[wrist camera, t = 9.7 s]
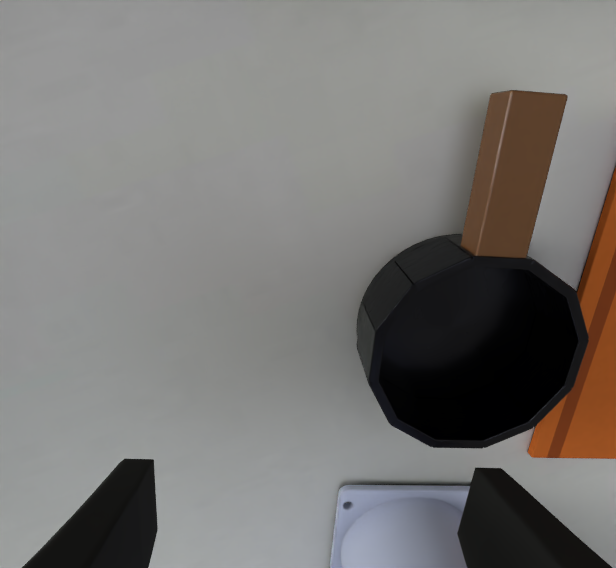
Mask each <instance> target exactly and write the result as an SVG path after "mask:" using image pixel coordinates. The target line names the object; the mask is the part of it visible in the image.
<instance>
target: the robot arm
mask: <svg viewBox="0 0 616 568" xmlns="http://www.w3.org/2000/svg"><path fill="white" fill-rule="evenodd" d="M345 502H349V503H345ZM156 534H157V512H156V494H155V476H154V460H152V459H124V460H123V461H121V462H120V463H119V464H118V465H117V467H116V468H115V469H114V470H113V471H112V472H111V473H110V475H109V476H108V477H107V478H106V479H105V480H104V481H103V482H102V484H101V485H100V486H99V487H98V488H97V489H96V490H95V492H94V493H93V494H92V495H91V496H90V497H89V498H88V499H87V500H86V501H85V503H84V504H83V505H82V506H81V507H80V508H79V509H78V510H77V511H76V512H75V514H74V515H73V516H72V517H71V518H70V519H69V520H68V521H67V522H66V523H65V524H64V525H63V526H62V527H61V528H60V529H59V530H58V531H57V533H56V534H55V535H54V536H53V537H52V538H51V539H50V540H49V541H48V542H47V543H46V544H45V545H44V546H43V547H42V548H41V549H40V550H39V551H38V552H37V553H36V554H35V555H34V556H33V557H32V558H31V559H30V560H29V561H28V562H27V563H26V564H25V565H24V566H23V567H22V568H148V567H149V563H150V559H151V555H152V550H153V546H154V542H155V538H156ZM330 568H612V567H611V566H610V565H609V564H607V563H606V562H605V561H604V560H603V559H602V558H601V557H599V556H598V555H597V554H596V553H595V552H594V551H593V550H591V549H590V548H589V547H588V546H587V545H586V544H585V543H583V542H582V541H581V540H580V539H579V538H578V537H577V536H576V535H574V534H573V533H572V532H571V531H570V530H569V529H568V528H567V527H566V526H564V525H563V524H562V523H561V522H560V521H559V520H558V519H557V518H556V517H555V516H553V515H552V514H551V513H550V512H549V511H548V510H547V509H546V508H545V507H544V506H543V505H541V504H540V503H539V502H538V501H537V500H536V499H535V498H534V497H533V496H532V495H530V494H529V493H528V492H527V491H526V490H525V489H524V488H523V487H522V486H521V485H519V484H518V483H517V482H516V481H515V480H514V479H513V478H512V477H510V476H509V475H508V474H507V473H506V472H505V471H504V470H502V469H501V468H475V471H474V474H473V478H472V482H471V485H470V486H429V485H345V486H343V487H342V488H341V489H340V490H339V492H338V501H337V509H336V517H335V526H334V534H333V543H332V551H331V559H330Z"/></svg>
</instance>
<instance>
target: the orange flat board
mask: <svg viewBox="0 0 616 568" xmlns="http://www.w3.org/2000/svg"><path fill="white" fill-rule="evenodd" d="M577 296H578V299H579V303H580V307H581V310H582V314H583V318H584V321H585V325H586V329H587V332H588V336H589V339H588V340H589V342H588V345H587V348H586V351H585V354H584V357H583V360H582V363H581V366H580V369H579V372H578V375H577V378H576V381H575V384H574V387H573V388H572V390H571V391H570V392H569V393H568V394H567V395H566V396H565V397H564V398H563V399H562V400H561V401H560V402H559V403H558V404H557V405H556V406H555V407H554V408H553V409H552V410H551V411H550V412H549V413H548V414H547V415H546V416H545V417H544V418H543V419H542V420H541V421H540V422H539V423H538V424H537V425H536V428H535V431H534V434H533V437H532V440H531V444H530V447H529V450H528V453H529V454H530V456H531V457H535V458H608V459H616V168H615V171H614V175H613V178H612V181H611V184H610V188H609V191H608V194H607V197H606V201H605V204H604V207H603V210H602V214H601V217H600V220H599V223H598V227H597V230H596V233H595V236H594V240H593V243H592V246H591V249H590V252H589V256H588V259H587V262H586V265H585V269H584V272H583V275H582V278H581V282H580V285H579V288H578V291H577Z"/></svg>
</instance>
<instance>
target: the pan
mask: <svg viewBox="0 0 616 568" xmlns="http://www.w3.org/2000/svg"><path fill="white" fill-rule="evenodd" d="M566 101H567V95H566V94H555V93H543V92H531V91H518V90H510V91H503V92H496V93H492V94H491V95H490V100H489V105H488V110H487V115H486V120H485V125H484V130H483V135H482V140H481V145H480V150H479V155H478V160H477V165H476V170H475V175H474V180H473V185H472V190H471V195H470V200H469V206H468V211H467V216H466V221H465V226H464V231H463V234H452V235H445V236H439V237H435V238H431V239H427V240H425V241H422V242H420V243H417V244H415V245H413V246H411V247H409V248H408V249H406V250H404V251H402V252H401V253H400V254H398V255H397V256H395V257H394V258H393V259H392V260H390V261H389V262H388V263H387V264H386V265H385V266H384V267H383V268H382V269H381V270H380V271H379V273H378V274H377V275H376V276H375V277H374V279H373V280H372V282H371V284H370V285H369V287H368V288H367V290H366V293H365V295H364V297H363V299H362V302H361V305H360V308H359V313H358V318H357V350H358V353H359V356H360V359H361V362H362V365H363V368H364V371H365V374H366V377H367V380H368V383H369V386H370V387H371V389H372V391H373V393H374V395H375V397H376V399H377V401H378V403H379V405H380V407H381V409H382V411H383V412H384V414H385V416H386V418H387V420H388V422H389V423H390V424H391V425H392V426H394V427H395V428H397V429H399V430H401V431H403V432H405V433H406V434H408V435H410V436H412V437H414V438H416V439H417V440H419V441H421V442H423V443H425V444H427V445H428V446H430V447H434V448H483V447H484V448H486V447H488V446H490V445H493V444H495V443H498V442H500V441H503V440H505V439H508V438H510V437H512V436H515V435H517V434H520V433H522V432H525V431H527V430H529V429H532V428H533V426H534V427H535V426H536V425H537V424H538V423H539V422H540V421H541V420H542V419H543V418H544V417H545V416H546V415H547V414H548V413H549V412H550V411H551V410H552V409H553V408H554V407H555V406H556V405H557V404H558V403H559V402H560V401H561V400H562V399H563V398H564V397H565V396H566V395H567V394H568V393H569V392H570V391H571V390H572V388H573V387H574V384H575V381H576V378H577V375H578V372H579V369H580V366H581V363H582V360H583V357H584V354H585V351H586V348H587V345H588V342H589V340H588V339H589V336H588V332H587V329H586V325H585V321H584V318H583V314H582V310H581V307H580V303H579V299H578V296H577V292H576V291H575V289H573V288H572V287H571V286H569V285H568V284H566V283H565V282H564V281H562V280H561V279H560V278H558V277H557V276H556V275H554V274H553V273H552V272H550V271H549V270H547V269H546V268H545V267H543V266H542V265H541V264H539V263H538V262H537V261H535V260H534V259H532V258H530V257H528V256H527V253H528V249H529V245H530V241H531V238H532V234H533V230H534V226H535V222H536V218H537V214H538V210H539V206H540V202H541V199H542V195H543V191H544V187H545V183H546V179H547V175H548V171H549V167H550V163H551V160H552V156H553V152H554V148H555V144H556V140H557V136H558V132H559V128H560V124H561V121H562V117H563V113H564V109H565V105H566Z"/></svg>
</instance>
